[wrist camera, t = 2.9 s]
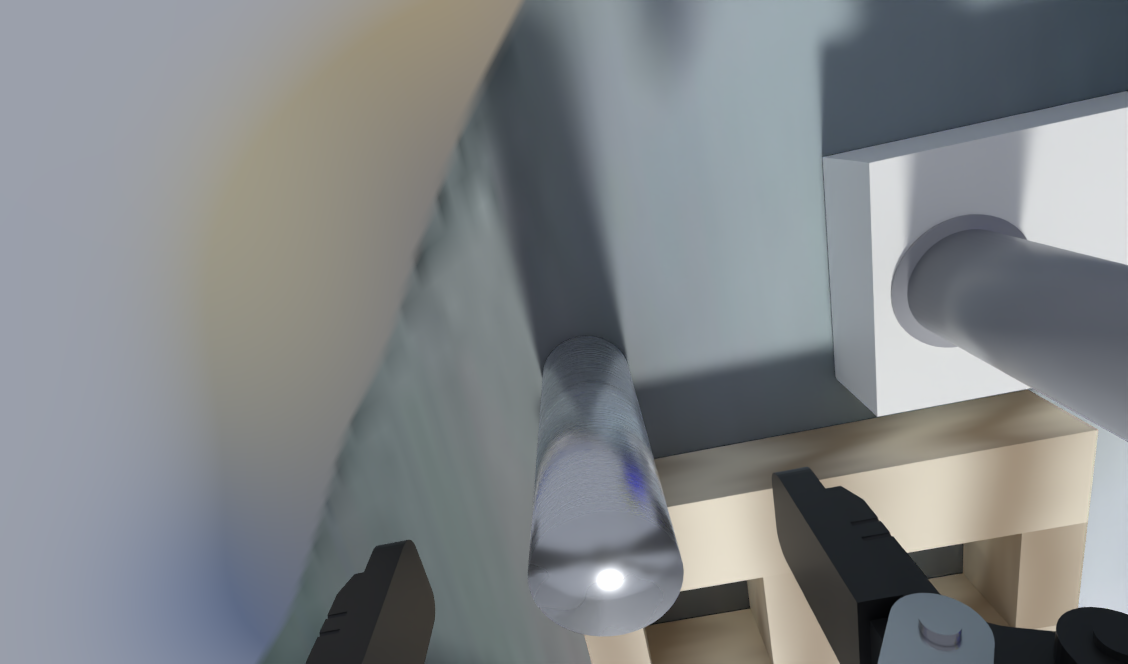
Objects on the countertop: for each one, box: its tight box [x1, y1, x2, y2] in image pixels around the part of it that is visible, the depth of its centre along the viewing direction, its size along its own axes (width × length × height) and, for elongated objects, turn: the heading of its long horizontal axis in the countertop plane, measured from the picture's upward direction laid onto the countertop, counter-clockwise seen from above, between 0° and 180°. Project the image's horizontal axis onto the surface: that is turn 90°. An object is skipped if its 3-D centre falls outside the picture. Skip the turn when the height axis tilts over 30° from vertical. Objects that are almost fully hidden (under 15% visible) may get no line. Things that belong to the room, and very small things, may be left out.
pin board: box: [584, 390, 1098, 664], centre depth 23 cm, size 18×12×3 cm, turn 102°
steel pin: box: [528, 336, 684, 636], centre depth 17 cm, size 3×3×10 cm
